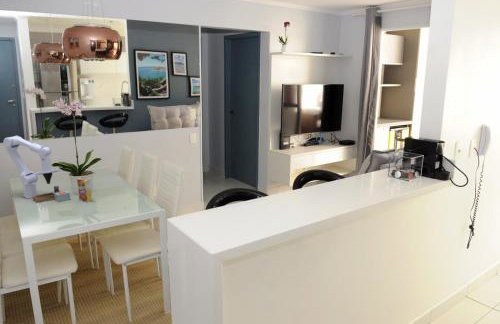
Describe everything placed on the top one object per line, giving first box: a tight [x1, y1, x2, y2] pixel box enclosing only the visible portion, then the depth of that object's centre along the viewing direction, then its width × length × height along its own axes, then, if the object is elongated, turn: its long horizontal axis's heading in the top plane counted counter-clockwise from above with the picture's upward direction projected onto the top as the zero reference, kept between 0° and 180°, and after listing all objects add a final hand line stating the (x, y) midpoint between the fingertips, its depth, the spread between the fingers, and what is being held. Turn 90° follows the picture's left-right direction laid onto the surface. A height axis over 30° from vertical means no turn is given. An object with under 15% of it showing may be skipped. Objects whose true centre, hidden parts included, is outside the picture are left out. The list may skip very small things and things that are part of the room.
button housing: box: [54, 190, 71, 203], centre depth 270 cm, size 6×8×5 cm
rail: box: [32, 192, 55, 204], centre depth 273 cm, size 8×19×3 cm, turn 135°
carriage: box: [50, 185, 61, 195], centre depth 275 cm, size 5×6×6 cm
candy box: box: [76, 177, 93, 203], centre depth 269 cm, size 9×4×15 cm, turn 60°
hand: (48, 183), depth 272 cm, fingers closed
